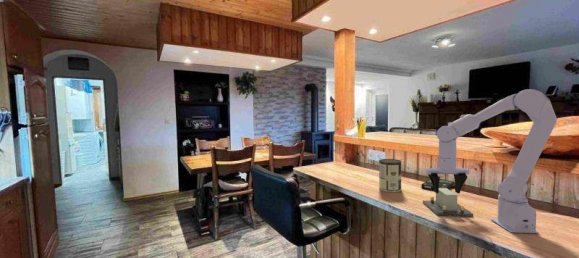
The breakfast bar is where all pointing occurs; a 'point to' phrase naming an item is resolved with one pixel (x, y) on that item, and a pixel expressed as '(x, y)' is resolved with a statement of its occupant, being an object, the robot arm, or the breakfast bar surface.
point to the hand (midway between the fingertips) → (446, 192)
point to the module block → (447, 199)
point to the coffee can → (390, 175)
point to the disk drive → (442, 184)
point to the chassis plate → (443, 212)
